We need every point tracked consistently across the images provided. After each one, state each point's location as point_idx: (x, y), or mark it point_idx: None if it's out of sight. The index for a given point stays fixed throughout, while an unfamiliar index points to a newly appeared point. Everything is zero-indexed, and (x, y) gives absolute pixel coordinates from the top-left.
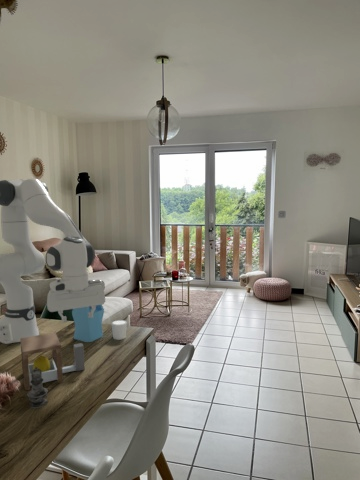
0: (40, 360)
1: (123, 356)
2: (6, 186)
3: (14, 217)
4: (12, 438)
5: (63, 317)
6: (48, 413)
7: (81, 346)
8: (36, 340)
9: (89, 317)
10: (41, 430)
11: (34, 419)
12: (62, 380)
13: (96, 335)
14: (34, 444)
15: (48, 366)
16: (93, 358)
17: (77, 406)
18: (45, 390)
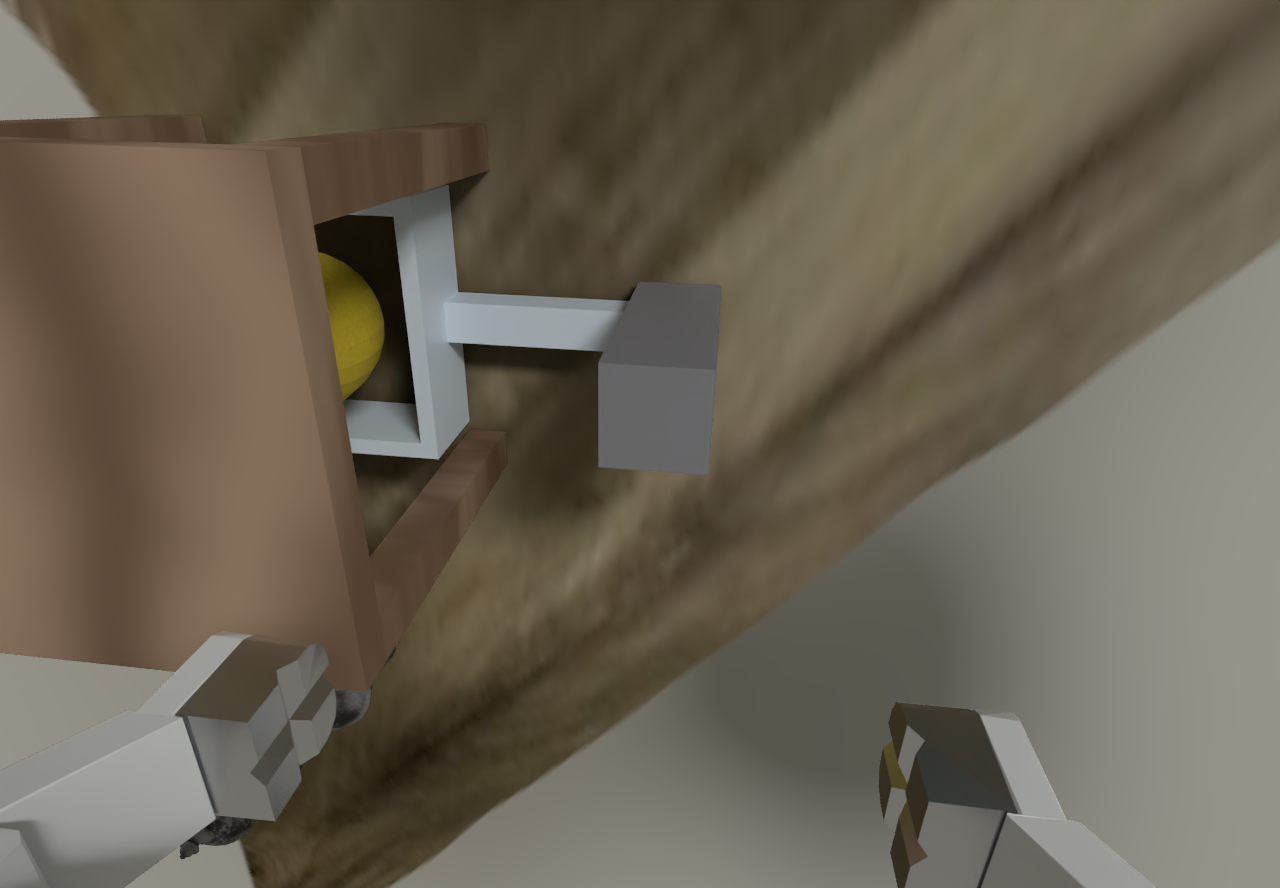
0: None
1: (1209, 261)
2: None
3: None
4: None
5: (195, 821)
6: (403, 737)
7: (681, 470)
8: (11, 379)
9: (883, 802)
10: (374, 824)
11: (337, 745)
12: (501, 468)
13: None
14: (351, 876)
15: (355, 387)
16: (892, 127)
17: (555, 758)
18: (353, 699)
